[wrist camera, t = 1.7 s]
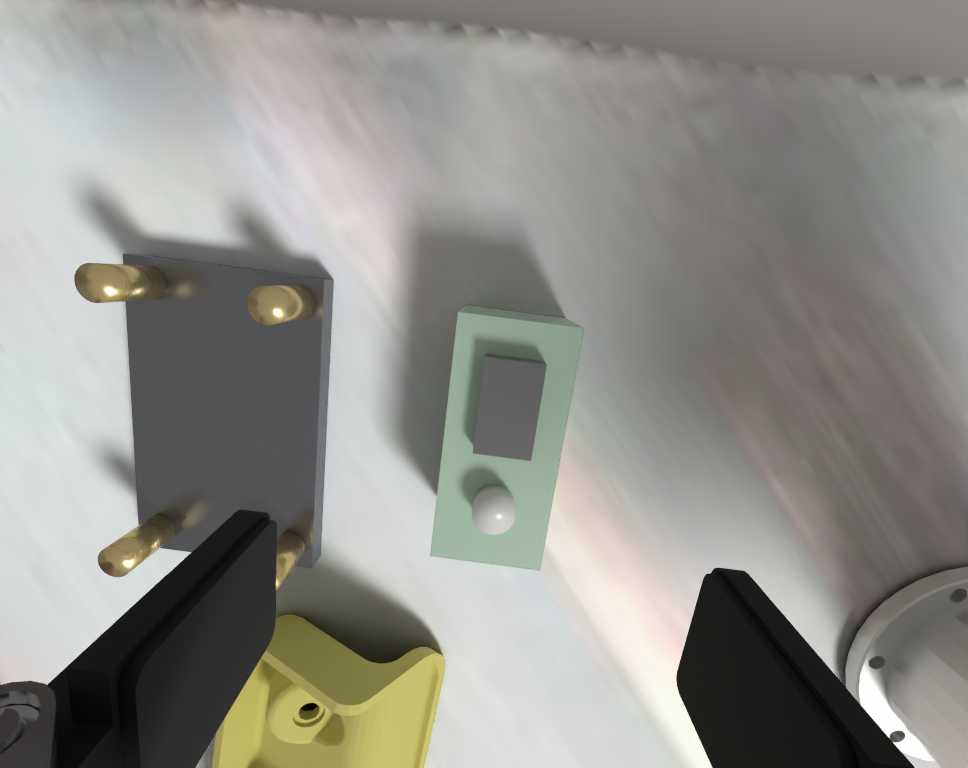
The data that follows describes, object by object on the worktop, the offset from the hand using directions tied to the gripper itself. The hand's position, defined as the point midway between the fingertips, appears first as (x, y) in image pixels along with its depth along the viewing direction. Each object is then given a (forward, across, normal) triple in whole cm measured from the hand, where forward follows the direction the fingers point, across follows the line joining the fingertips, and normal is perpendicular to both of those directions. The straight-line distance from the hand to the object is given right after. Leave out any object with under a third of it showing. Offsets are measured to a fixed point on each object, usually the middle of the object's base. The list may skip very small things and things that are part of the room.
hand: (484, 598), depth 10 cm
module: (+14, -1, 0) cm, 14 cm away
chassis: (+14, +13, +2) cm, 20 cm away
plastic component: (+15, +8, +23) cm, 29 cm away
